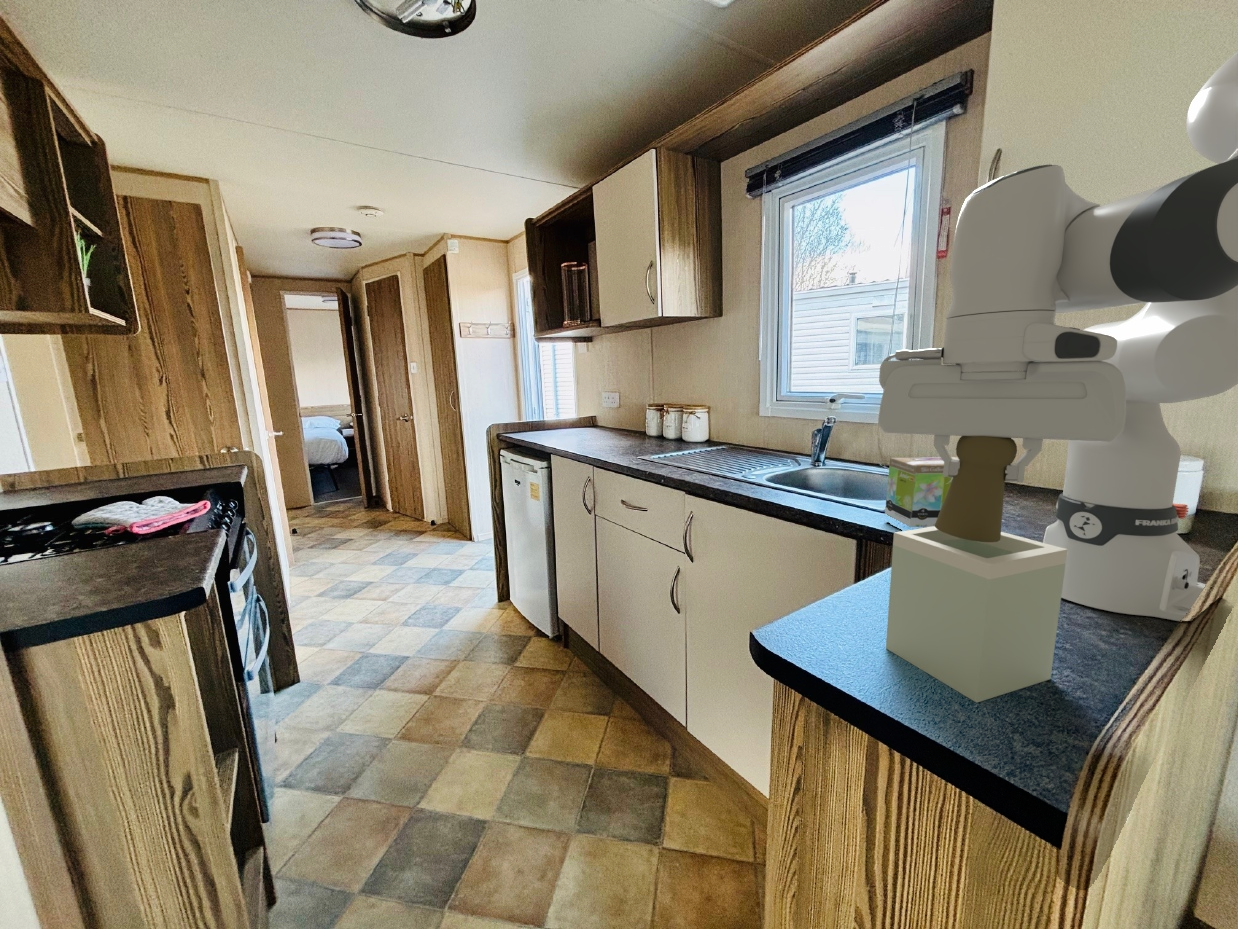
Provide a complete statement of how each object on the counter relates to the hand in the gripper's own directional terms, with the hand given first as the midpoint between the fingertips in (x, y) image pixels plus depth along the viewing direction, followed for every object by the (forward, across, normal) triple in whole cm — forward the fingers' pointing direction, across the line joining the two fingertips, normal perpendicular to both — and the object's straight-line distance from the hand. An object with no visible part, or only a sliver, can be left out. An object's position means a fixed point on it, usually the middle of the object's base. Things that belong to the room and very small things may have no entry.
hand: (981, 478), depth 53 cm
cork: (+6, -1, 0) cm, 6 cm away
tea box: (+22, -6, +56) cm, 61 cm away
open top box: (+21, 0, 0) cm, 21 cm away
